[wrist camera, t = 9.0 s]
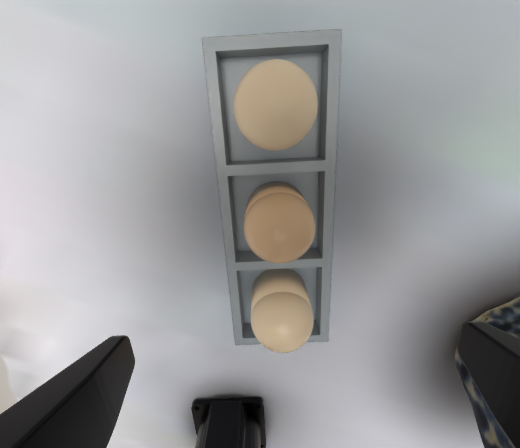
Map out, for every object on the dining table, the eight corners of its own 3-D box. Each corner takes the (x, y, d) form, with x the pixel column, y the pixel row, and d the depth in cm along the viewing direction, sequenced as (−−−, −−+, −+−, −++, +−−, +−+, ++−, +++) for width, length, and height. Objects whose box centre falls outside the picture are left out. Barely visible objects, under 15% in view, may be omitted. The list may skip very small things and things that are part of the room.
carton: (321, 320, 22) (341, 383, 17) (237, 324, 22) (230, 387, 17) (330, 41, 15) (367, -2, 10) (209, 49, 15) (183, 10, 10)
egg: (306, 237, 19) (321, 275, 14) (247, 239, 19) (244, 279, 14) (306, 179, 17) (324, 200, 13) (244, 182, 17) (238, 204, 13)
